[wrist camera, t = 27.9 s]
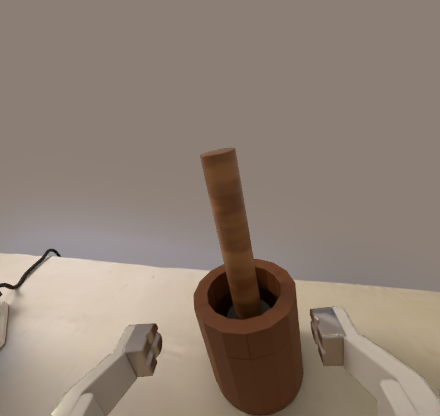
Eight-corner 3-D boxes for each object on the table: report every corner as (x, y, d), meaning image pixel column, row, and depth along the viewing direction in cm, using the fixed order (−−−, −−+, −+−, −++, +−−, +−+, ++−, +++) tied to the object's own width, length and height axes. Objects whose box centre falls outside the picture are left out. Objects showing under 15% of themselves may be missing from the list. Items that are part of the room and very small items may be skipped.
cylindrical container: (201, 356, 28) (179, 287, 24) (262, 313, 32) (251, 249, 28) (250, 443, 20) (228, 359, 16) (323, 370, 24) (319, 290, 20)
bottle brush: (229, 356, 27) (178, 158, 18) (260, 333, 29) (226, 145, 20) (254, 392, 23) (204, 160, 14) (288, 363, 25) (261, 144, 16)
